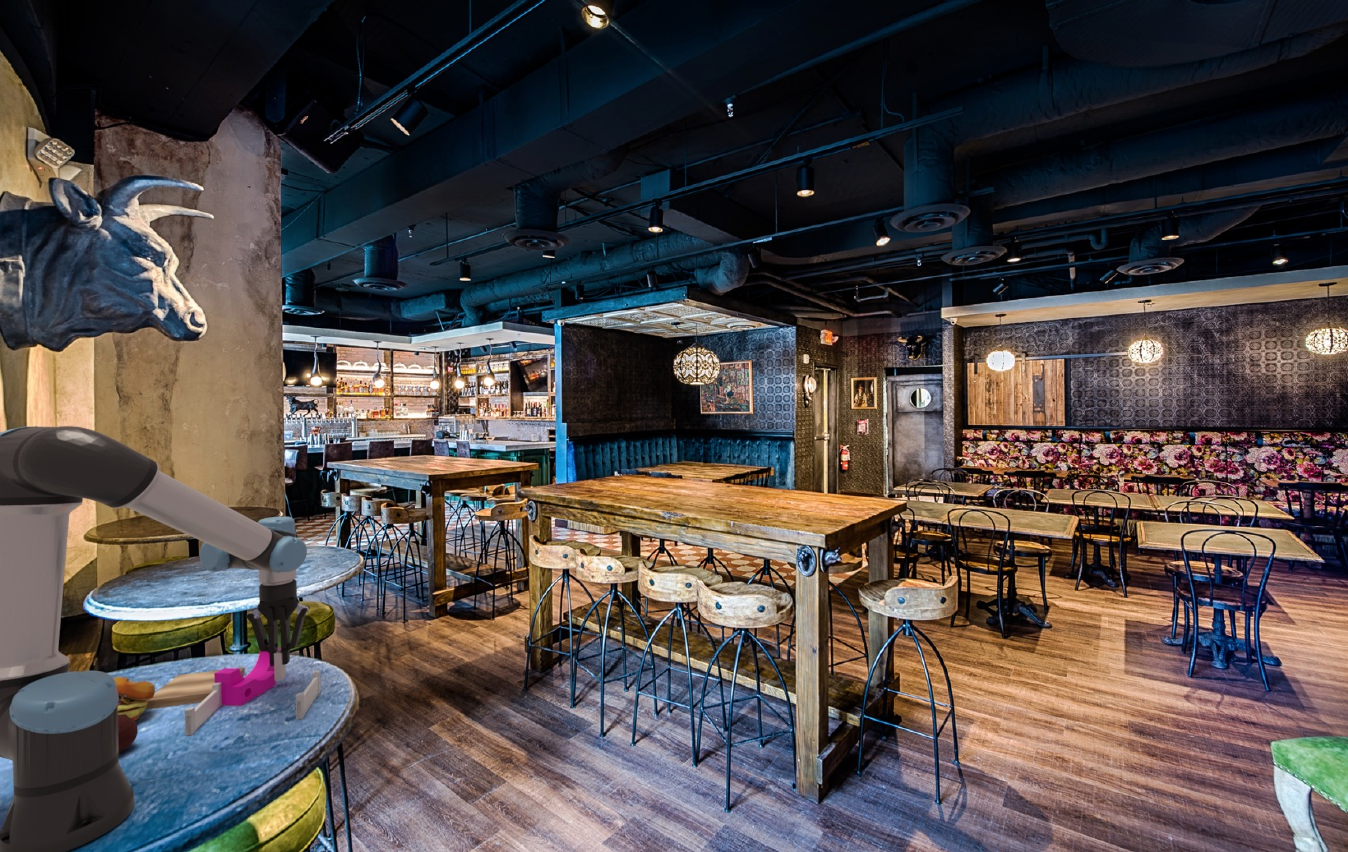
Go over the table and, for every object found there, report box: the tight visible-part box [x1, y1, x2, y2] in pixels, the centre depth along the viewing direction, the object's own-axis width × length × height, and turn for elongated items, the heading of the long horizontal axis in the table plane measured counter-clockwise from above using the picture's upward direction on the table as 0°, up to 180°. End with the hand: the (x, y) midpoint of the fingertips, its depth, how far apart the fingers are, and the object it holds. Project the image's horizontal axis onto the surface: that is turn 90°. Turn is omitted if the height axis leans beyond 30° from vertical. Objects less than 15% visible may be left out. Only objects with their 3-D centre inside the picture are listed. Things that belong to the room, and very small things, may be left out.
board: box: [145, 666, 246, 710], centre depth 138 cm, size 14×14×2 cm
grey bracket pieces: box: [184, 669, 322, 737], centre depth 127 cm, size 13×21×5 cm, turn 107°
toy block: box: [214, 646, 281, 707], centre depth 138 cm, size 15×6×8 cm, turn 176°
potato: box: [118, 715, 139, 754], centre depth 112 cm, size 7×8×7 cm
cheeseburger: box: [113, 676, 156, 722], centre depth 123 cm, size 10×11×10 cm
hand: (280, 677), depth 140 cm, fingers closed
